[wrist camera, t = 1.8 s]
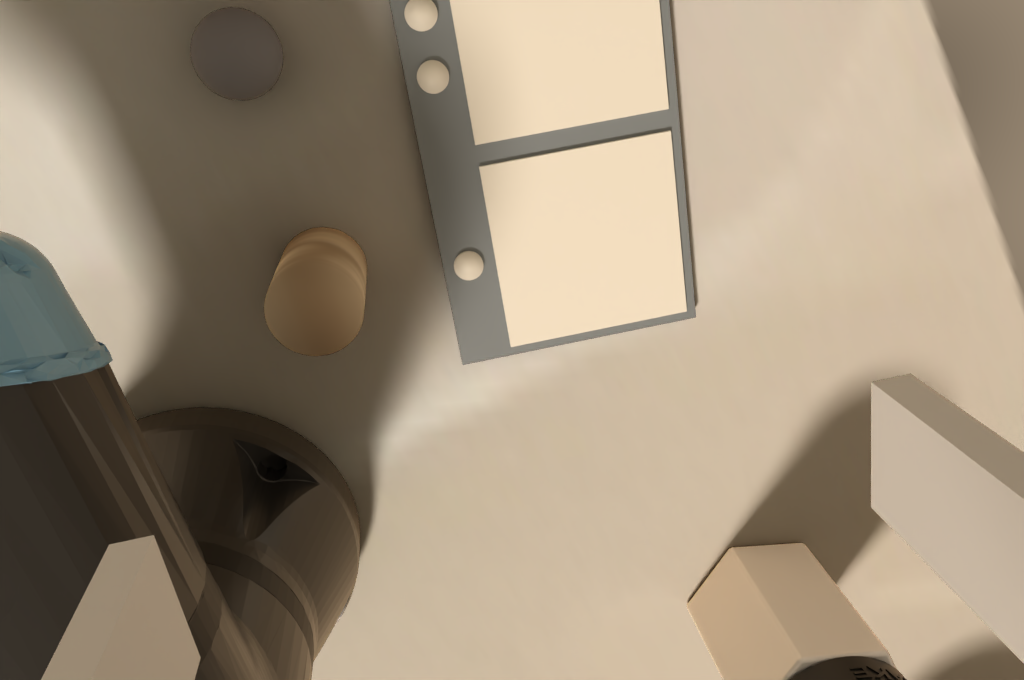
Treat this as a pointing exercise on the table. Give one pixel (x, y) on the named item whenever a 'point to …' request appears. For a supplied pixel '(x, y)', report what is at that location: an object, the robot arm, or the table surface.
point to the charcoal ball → (236, 54)
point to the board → (550, 166)
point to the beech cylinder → (317, 292)
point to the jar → (784, 620)
